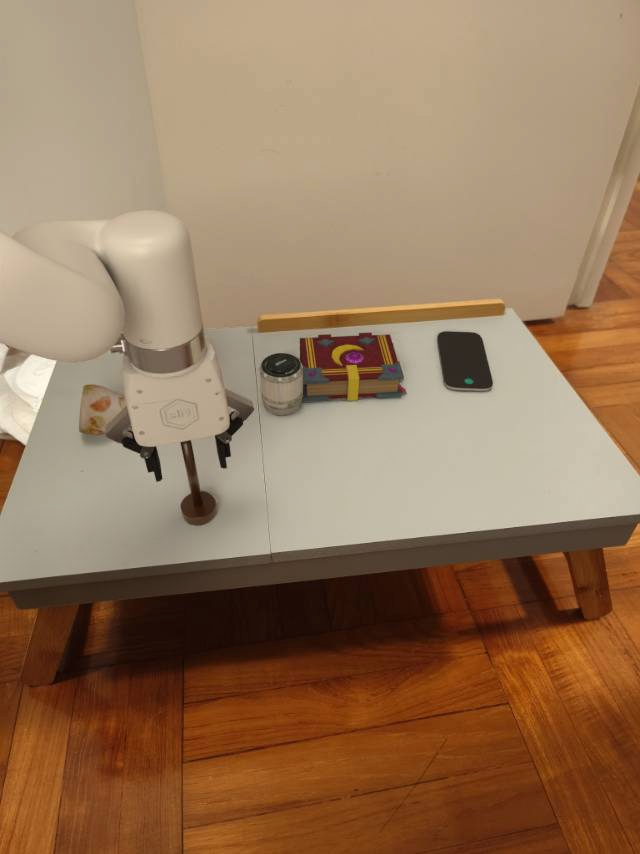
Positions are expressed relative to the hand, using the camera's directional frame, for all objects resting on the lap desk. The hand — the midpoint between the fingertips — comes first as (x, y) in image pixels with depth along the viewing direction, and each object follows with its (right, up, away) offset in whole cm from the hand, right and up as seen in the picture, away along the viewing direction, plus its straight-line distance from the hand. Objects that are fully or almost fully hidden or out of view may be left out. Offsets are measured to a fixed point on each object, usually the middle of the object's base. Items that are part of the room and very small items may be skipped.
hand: (190, 465), depth 72 cm
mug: (-14, +5, +18) cm, 23 cm away
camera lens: (+10, +8, +21) cm, 25 cm away
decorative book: (+20, +12, +26) cm, 35 cm away
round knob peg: (0, -6, +6) cm, 9 cm away
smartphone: (+39, +15, +29) cm, 51 cm away
